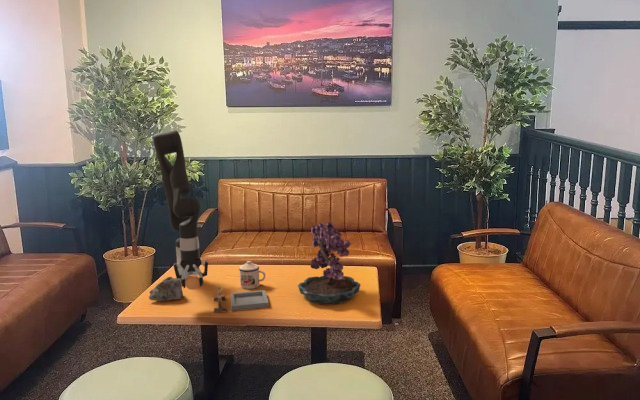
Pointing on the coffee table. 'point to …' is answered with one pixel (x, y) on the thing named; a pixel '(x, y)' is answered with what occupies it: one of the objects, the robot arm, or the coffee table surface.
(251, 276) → the teacup with lid
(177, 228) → the robot arm
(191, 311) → the coffee table surface
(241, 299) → the tray
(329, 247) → the bonsai tree
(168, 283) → the mineral rock
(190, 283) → the ball
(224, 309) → the fence
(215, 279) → the coffee table surface
